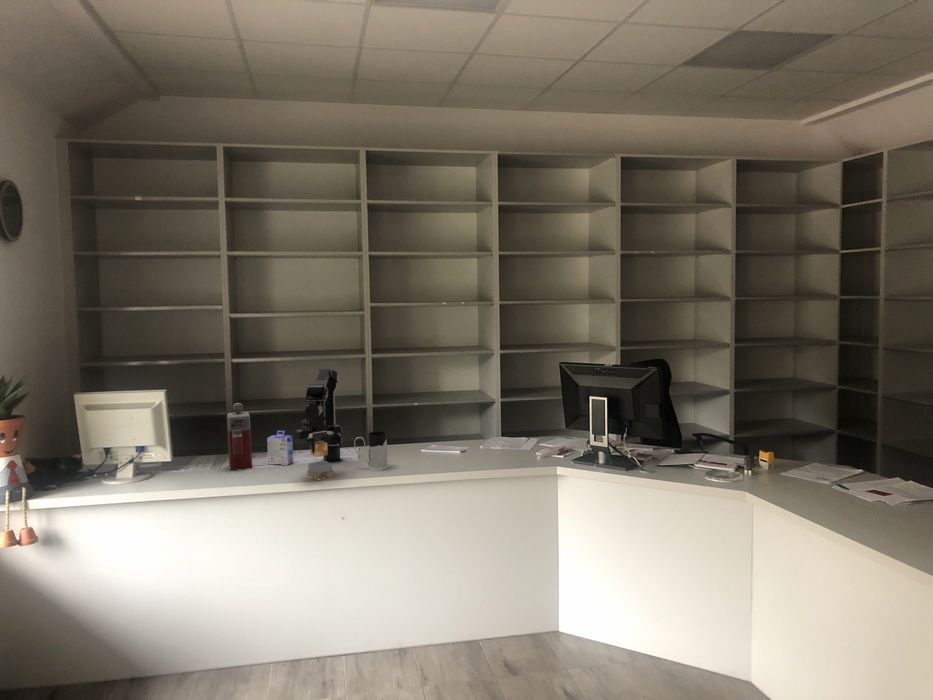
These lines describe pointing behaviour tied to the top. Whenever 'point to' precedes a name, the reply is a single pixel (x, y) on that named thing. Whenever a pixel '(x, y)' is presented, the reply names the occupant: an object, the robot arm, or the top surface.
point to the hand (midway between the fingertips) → (319, 452)
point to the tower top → (320, 467)
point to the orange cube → (320, 449)
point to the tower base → (320, 474)
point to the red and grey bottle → (239, 438)
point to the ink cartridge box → (280, 449)
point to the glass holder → (376, 450)
